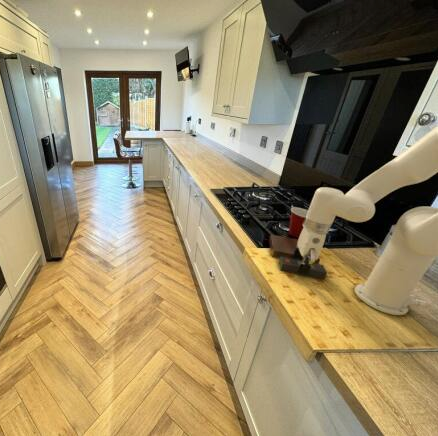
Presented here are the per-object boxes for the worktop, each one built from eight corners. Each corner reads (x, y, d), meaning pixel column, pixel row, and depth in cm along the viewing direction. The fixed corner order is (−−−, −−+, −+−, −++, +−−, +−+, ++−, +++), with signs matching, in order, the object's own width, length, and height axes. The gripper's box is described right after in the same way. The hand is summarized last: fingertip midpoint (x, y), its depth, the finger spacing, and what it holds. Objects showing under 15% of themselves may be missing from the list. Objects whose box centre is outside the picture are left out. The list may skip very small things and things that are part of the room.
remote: (320, 271, 87) (323, 264, 86) (324, 279, 83) (327, 272, 81) (278, 262, 91) (280, 256, 90) (280, 270, 87) (282, 263, 86)
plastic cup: (312, 242, 106) (321, 218, 101) (285, 237, 109) (293, 214, 104) (305, 231, 115) (314, 209, 110) (281, 227, 118) (288, 205, 113)
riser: (308, 247, 102) (311, 241, 101) (317, 266, 90) (320, 259, 89) (268, 240, 107) (270, 234, 105) (272, 256, 95) (274, 250, 93)
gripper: (338, 239, 70) (317, 282, 78) (322, 216, 85) (306, 255, 93) (309, 233, 73) (292, 276, 80) (299, 212, 87) (285, 250, 95)
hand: (299, 265), depth 86 cm, fingers open, 9 cm apart
